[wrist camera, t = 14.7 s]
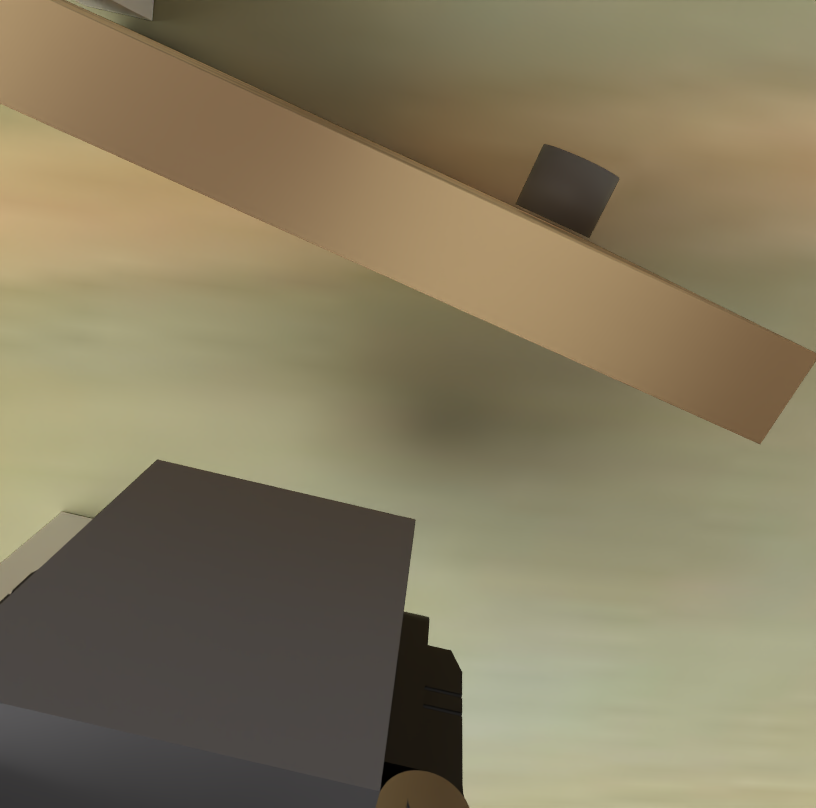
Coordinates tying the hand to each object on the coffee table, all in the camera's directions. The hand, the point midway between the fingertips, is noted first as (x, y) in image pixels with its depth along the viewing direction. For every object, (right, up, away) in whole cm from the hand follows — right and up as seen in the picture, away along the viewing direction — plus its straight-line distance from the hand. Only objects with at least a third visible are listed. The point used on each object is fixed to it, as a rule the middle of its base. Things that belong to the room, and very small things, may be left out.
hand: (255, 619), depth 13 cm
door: (+1, +12, +8) cm, 15 cm away
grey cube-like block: (0, 0, +1) cm, 1 cm away
